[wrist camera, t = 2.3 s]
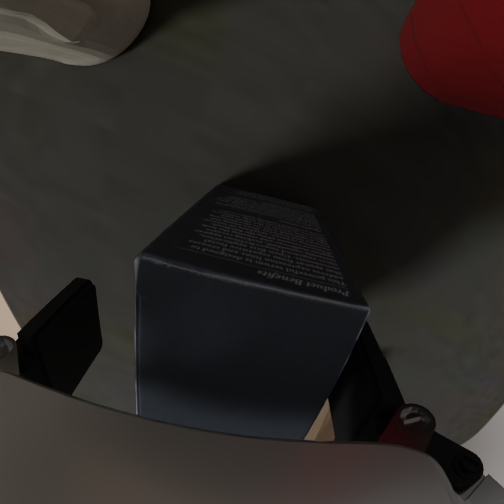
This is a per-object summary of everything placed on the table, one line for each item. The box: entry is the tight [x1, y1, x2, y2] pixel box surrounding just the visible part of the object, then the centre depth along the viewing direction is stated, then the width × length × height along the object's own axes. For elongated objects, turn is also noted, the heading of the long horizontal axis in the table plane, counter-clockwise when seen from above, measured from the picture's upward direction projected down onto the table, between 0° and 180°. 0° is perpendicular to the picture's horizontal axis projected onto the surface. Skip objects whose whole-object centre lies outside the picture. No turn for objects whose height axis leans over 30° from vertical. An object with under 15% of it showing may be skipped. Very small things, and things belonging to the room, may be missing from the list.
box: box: [134, 184, 370, 440], centre depth 13 cm, size 8×6×11 cm
